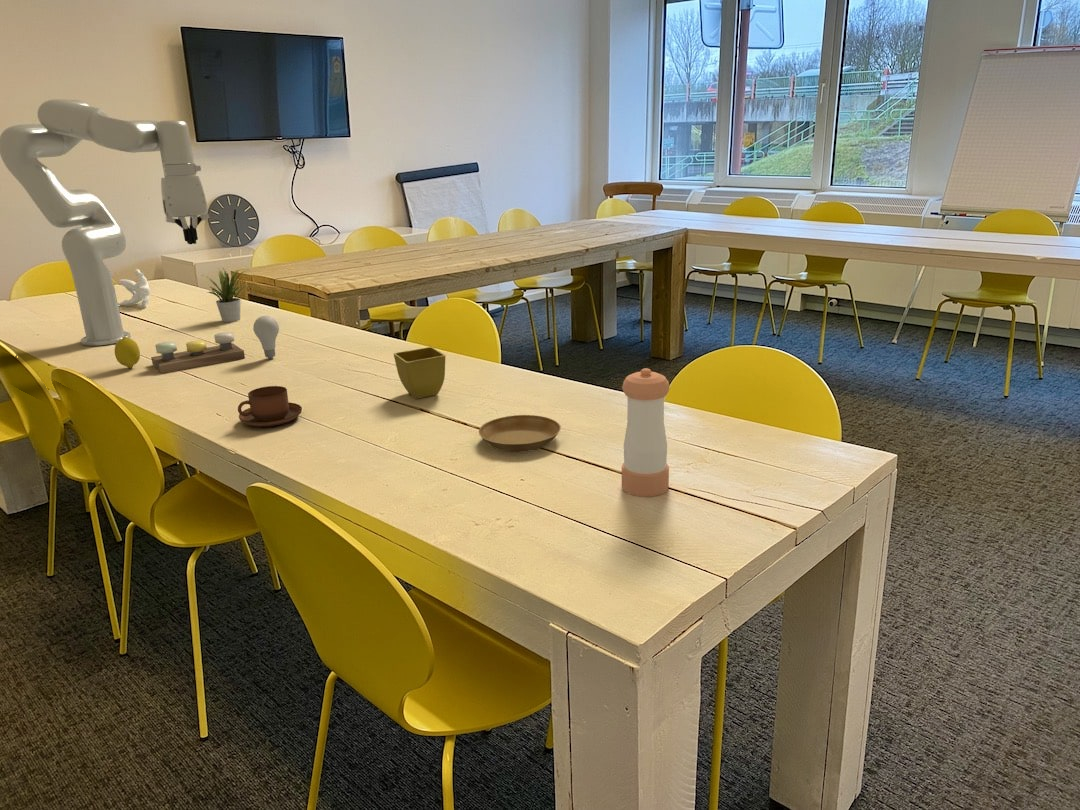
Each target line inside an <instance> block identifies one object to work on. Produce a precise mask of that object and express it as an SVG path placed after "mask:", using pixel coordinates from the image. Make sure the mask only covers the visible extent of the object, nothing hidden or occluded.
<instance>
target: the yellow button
mask: <svg viewBox="0 0 1080 810" xmlns="http://www.w3.org/2000/svg"><path fill="white" fill-rule="evenodd" d="M185 345H186V351H188V352H191V353H192V356H197V355H202V354H204V350H206V349H207V342H206V341H205V340H192V341H189V342H186V344H185Z"/></svg>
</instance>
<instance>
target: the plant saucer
mask: <svg viewBox="0 0 1080 810" xmlns="http://www.w3.org/2000/svg"><path fill="white" fill-rule="evenodd" d="M561 429H562V428H561V425H560V423H559V422H558V421H557V420H555V419H552V418H550V417H547V416H542V415H532V414H515V415H507V416H503V417H498V418H494V419H491V420H489V421H487V422H485V423H484V424H482V425H481V426H480V427H479V429H478V434H479V436H480V437H481V439H482V440H484V442H485V443H487V444H488V445H489V446H491V448H494V449H496V450H497V451H498V450H499V451H500V452H501V451H503V452H507V453H526V452H532V451H537V450H540V449H543V448H545V447H546V446H548V445H549V444H550V443H552V442H553V440H555V438H556V437H557V436H558V434H559V433H560V431H561Z"/></svg>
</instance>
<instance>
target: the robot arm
mask: <svg viewBox="0 0 1080 810" xmlns="http://www.w3.org/2000/svg"><path fill="white" fill-rule="evenodd" d="M37 118H38V121H39V123H32V124H30V123H25V124H15V125H12V126H10V127H7V128H5V129H4V130H3V131H2V133H1V134H0V158H1V160H2V162H3V164H4V166H5V168H7V170H8V171H9V172H10V173H11V175H12V176H13V177H14V179H16V181H18V183H19V184H20V185H21V186H22V187H23V188H24V190H25V191H26V193H27V195H28V196H29V198H30V199H31V200H32V201H33V203H34V204H35V205H36V207H37V208H38V209H39V211H40V212H41V214H42V215H43V216H44V217H45V219H46V220H47V221H48V223H49V224H50V225H52V226H54V227H55V228H59V229H60V228H61V229H62V228H63V229H66V228H72V229H70V230H68V231H67V232H66V233H65V234H64V235H63V237H62V240H61V248H62V252H63V255H64V257H65V259H66V261H67V263H68V265H69V269H70V272H71V275H72V279H73V283H74V288H75V291H76V296H77V301H78V305H79V310H80V313H81V314H80V315H81V319H82V324H83V327H84V332H85V336H84V337H82V338H81V339H80V344H81V345H83V346H89V347H91V346H92V347H93V346H105V345H112V344H116V343H117V342H118V341H119V340H120V339H122V338H123V337H126V338H130V339H131V333H130V332H129V331H124V328H123V327H124V326H123V322H122V318H121V313H120V309H119V307H120V306H118V303H119V302H118V299H117V294H116V288H115V284H114V279H113V276H112V273H111V271H110V269H109V267H108V265H106V263H105V261H104V260H105V259H111V258H115V257H118V256H120V255H121V254H123V252H124V251H125V250H126V245H127V240H126V237H125V234H124V232H123V230H122V229H121V227H120V226H119V225H118V223H117V221H116V220H115V219H114V217H113V216H112V214H111V213H110V211H109V210H108V209H107V208H106V205H104V203H103V202H102V201H101V199H100V198H99V197H98V196H96V195H95V193H93V192H91V191H89V190H86V189H71V190H70V189H68V188H67V187H65V186H64V184H63V183H62V181H60V179H59V178H58V177H59V176H57V174H56V173H54V171H52V169H50V168H49V167H48V166H47V165H45V164H44V163H42V162H41V161H39V160H38V159H39V158H55V157H60V156H61V157H62V156H63V155H66V154H67V153H69V152H70V151H71V150H72V149H73V148H75V147H76V146H77V145H78V144H79V143H81V142H82V141H83V140H84V141H89V142H93V143H95V144H97V145H98V146H100V147H103V148H106V149H110V150H111V149H112V150H115V151H120V152H126V153H135V154H136V153H150V152H160V158H161V164H162V169H163V176H164V177H160V186H161V188H160V190H161V198H162V200H161V202H162V207H163V213H164V215H165V220H164V221H165V222H167V223H170V224H176V225H178V226H179V227H181V229H182V232H183V238H184V241H185V242H186V243H187V244H188V245H196V244H197V241H198V239H199V237H198V231H197V228H198V226H199V224H200V223H201V222H202V221H206V220H208V219H210V215H209V213H208V211H209V210H208V204H207V199H206V194H205V190H204V188H203V187H204V186H203V184H202V181H201V178H200V175H197V173H198V172H201V171H202V168H201V165H197V164H196V163H195V161H194V155H193V149H192V144H191V143H192V142H191V137H190V131H189V130H190V129H189V126H188V124H187V122H185V121H184V120H178V119H177V120H173V119H172V120H160V121H157V120H123V119H118V118H113V117H109V115H107V113H106V112H105V111H104V110H103V109H102V108H99V107H94V106H90V105H89V104H88V103H87V102H84V101H82V100H79V99H58V98H57V99H55V98H53V99H48V100H46V101H44V102H42V103H41V104H40V105H39V107H38V109H37ZM187 217H189V225H188V223H187V220H186V218H187ZM77 226H79V227H77ZM73 227H74V228H73Z"/></svg>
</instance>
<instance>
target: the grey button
mask: <svg viewBox="0 0 1080 810" xmlns="http://www.w3.org/2000/svg"><path fill="white" fill-rule="evenodd" d="M213 336H214V342H215V343H216V344H218V346H219V345H220V350H221V351H225V350H231V349H232V344H231V343H234V342H235V336H234V332H231V331H230V332H228V331H226V332H225V331H223V332H220V333H219V332H218V333H216V334H214V335H213Z"/></svg>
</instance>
